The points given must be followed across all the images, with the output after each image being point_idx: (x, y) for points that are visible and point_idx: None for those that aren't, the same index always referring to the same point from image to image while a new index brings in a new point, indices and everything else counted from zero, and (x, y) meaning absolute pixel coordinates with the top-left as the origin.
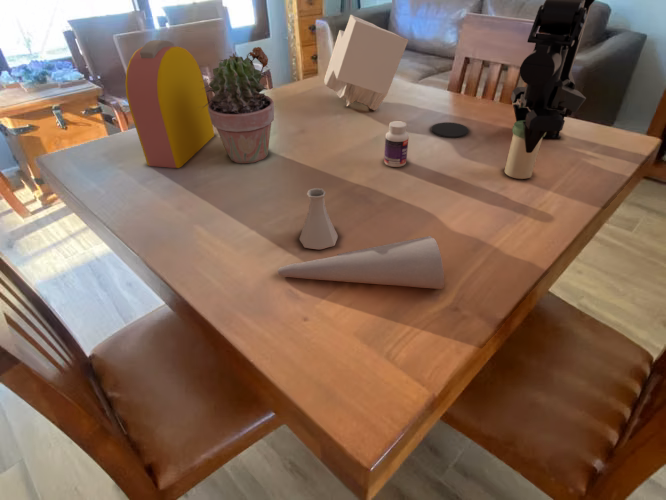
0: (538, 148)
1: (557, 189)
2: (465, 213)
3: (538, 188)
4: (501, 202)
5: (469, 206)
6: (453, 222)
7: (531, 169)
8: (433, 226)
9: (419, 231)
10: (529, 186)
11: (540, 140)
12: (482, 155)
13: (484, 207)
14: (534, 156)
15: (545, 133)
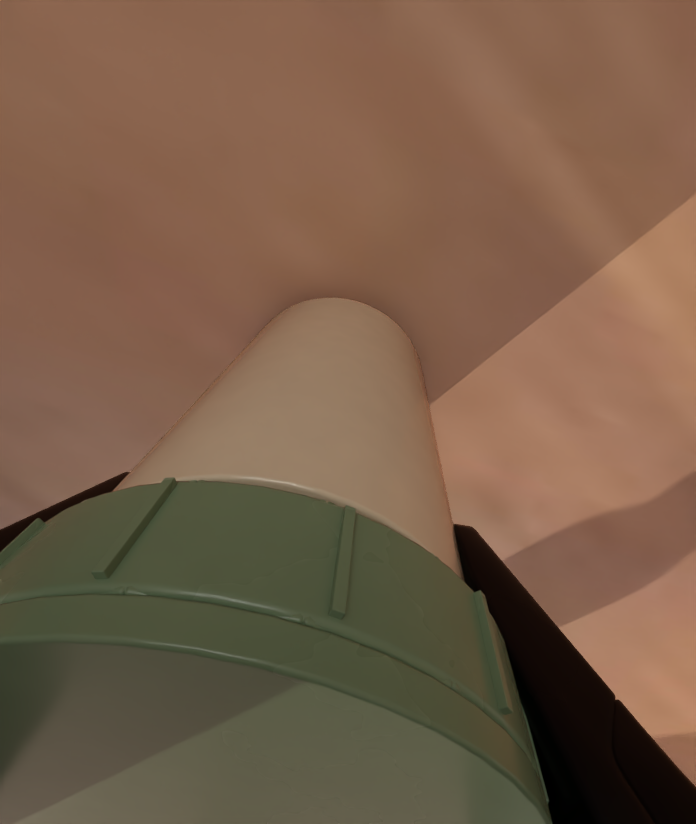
0: (421, 455)
1: (602, 181)
2: (651, 678)
3: (545, 322)
4: (625, 555)
5: (606, 656)
6: (691, 716)
7: (415, 366)
8: (684, 755)
9: (692, 781)
10: (504, 369)
11: (438, 546)
12: (101, 481)
13: (637, 620)
14: (432, 434)
15: (417, 591)
